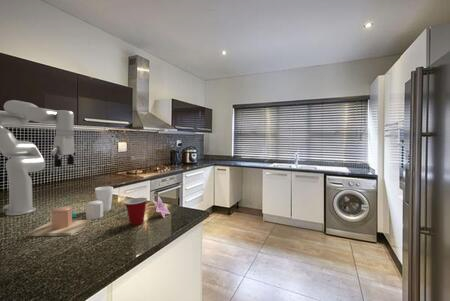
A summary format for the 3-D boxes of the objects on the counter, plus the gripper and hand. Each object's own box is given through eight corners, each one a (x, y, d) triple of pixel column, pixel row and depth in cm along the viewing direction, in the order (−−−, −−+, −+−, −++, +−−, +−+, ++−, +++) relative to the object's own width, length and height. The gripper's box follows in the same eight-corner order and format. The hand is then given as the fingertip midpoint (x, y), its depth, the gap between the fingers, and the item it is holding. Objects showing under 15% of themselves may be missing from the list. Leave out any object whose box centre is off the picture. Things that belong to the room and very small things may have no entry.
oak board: (26, 236, 92) (26, 233, 92) (53, 222, 108) (53, 220, 108) (71, 235, 94) (71, 232, 93) (91, 221, 109) (91, 219, 109)
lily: (152, 223, 112) (162, 207, 112) (141, 210, 118) (150, 194, 118) (169, 223, 121) (177, 208, 121) (157, 211, 128) (165, 197, 128)
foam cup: (105, 212, 124) (105, 190, 123) (91, 211, 125) (91, 189, 125) (116, 208, 133) (116, 186, 132) (103, 206, 135) (103, 186, 134)
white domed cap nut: (83, 219, 112) (83, 204, 112) (91, 214, 120) (91, 200, 119) (98, 219, 113) (98, 204, 113) (105, 214, 120) (104, 200, 120)
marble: (68, 218, 114) (67, 212, 114) (71, 216, 117) (71, 210, 117) (74, 218, 114) (74, 212, 114) (78, 216, 117) (78, 210, 117)
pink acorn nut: (47, 229, 97) (47, 211, 97) (59, 223, 104) (58, 206, 104) (64, 228, 97) (64, 211, 97) (75, 222, 105) (74, 206, 105)
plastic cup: (128, 219, 113) (128, 196, 113) (150, 219, 114) (150, 196, 114) (120, 227, 102) (120, 202, 102) (144, 227, 103) (144, 202, 103)
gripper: (68, 134, 125) (68, 163, 125) (44, 132, 107) (44, 167, 108) (82, 134, 125) (81, 164, 126) (60, 133, 108) (60, 167, 108)
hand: (64, 165), depth 117 cm, fingers open, 9 cm apart
